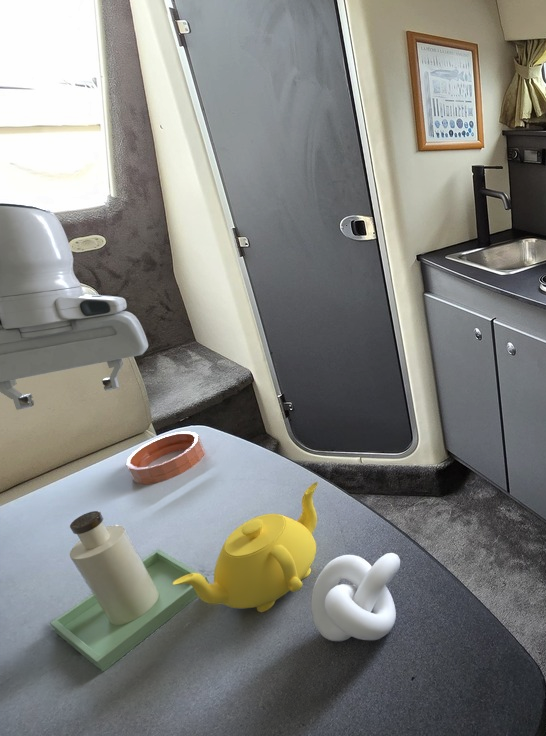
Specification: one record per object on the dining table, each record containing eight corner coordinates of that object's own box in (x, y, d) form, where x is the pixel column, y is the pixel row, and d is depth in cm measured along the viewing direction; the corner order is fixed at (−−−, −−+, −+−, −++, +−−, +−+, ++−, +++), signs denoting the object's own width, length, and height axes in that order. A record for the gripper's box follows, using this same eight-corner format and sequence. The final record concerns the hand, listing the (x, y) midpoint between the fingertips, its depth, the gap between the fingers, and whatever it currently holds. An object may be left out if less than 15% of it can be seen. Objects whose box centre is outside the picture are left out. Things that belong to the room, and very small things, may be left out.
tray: (56, 632, 70) (49, 623, 69) (163, 557, 81) (158, 548, 80) (103, 672, 65) (96, 662, 64) (211, 586, 76) (206, 576, 75)
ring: (123, 480, 99) (113, 460, 97) (187, 445, 108) (179, 426, 107) (154, 496, 94) (144, 476, 92) (218, 458, 104) (211, 438, 102)
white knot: (420, 632, 68) (408, 586, 65) (323, 685, 62) (304, 638, 59) (402, 570, 77) (391, 528, 74) (316, 612, 71) (300, 568, 68)
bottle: (101, 616, 72) (47, 528, 65) (147, 583, 76) (100, 498, 70) (121, 631, 69) (67, 542, 63) (167, 596, 74) (121, 510, 68)
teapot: (234, 670, 64) (204, 610, 60) (178, 619, 71) (148, 562, 67) (365, 551, 81) (349, 497, 76) (310, 519, 87) (292, 468, 83)
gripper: (-76, 329, 66) (-43, 426, 68) (131, 299, 77) (153, 383, 80) (-54, 323, 71) (-24, 414, 73) (137, 296, 82) (158, 375, 85)
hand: (70, 397), depth 76 cm, fingers open, 8 cm apart
